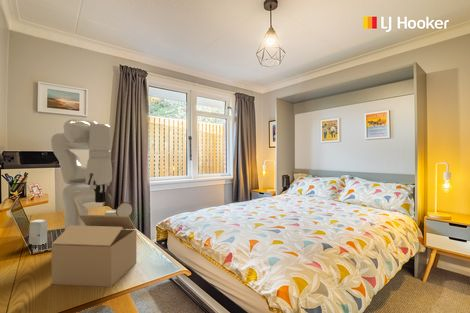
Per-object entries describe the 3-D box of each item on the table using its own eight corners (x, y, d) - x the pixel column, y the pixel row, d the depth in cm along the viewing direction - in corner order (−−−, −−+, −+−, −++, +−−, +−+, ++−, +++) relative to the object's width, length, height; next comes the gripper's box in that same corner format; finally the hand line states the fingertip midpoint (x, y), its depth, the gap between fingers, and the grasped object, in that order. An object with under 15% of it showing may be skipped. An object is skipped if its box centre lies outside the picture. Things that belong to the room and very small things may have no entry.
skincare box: (28, 246, 115) (28, 221, 115) (36, 242, 119) (36, 219, 119) (40, 246, 115) (40, 222, 114) (48, 243, 119) (47, 219, 119)
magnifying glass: (116, 241, 121) (116, 203, 121) (115, 240, 123) (115, 203, 122) (133, 237, 128) (133, 201, 127) (132, 236, 129) (132, 201, 128)
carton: (51, 284, 82) (51, 244, 82) (86, 260, 100) (86, 228, 100) (111, 286, 81) (111, 246, 81) (136, 262, 99) (136, 229, 99)
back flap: (78, 215, 94) (78, 214, 95) (88, 227, 100) (88, 226, 101) (128, 216, 93) (128, 215, 93) (135, 229, 99) (135, 228, 99)
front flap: (52, 244, 82) (52, 243, 82) (70, 226, 90) (70, 225, 90) (110, 246, 81) (109, 245, 81) (122, 227, 89) (122, 226, 89)
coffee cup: (123, 230, 139) (123, 210, 139) (109, 234, 132) (109, 213, 132) (115, 227, 144) (115, 208, 144) (101, 231, 137) (101, 211, 136)
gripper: (102, 155, 99) (103, 198, 99) (77, 155, 84) (77, 206, 84) (120, 155, 99) (120, 198, 99) (97, 155, 84) (97, 206, 84)
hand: (100, 202), depth 91 cm, fingers closed
